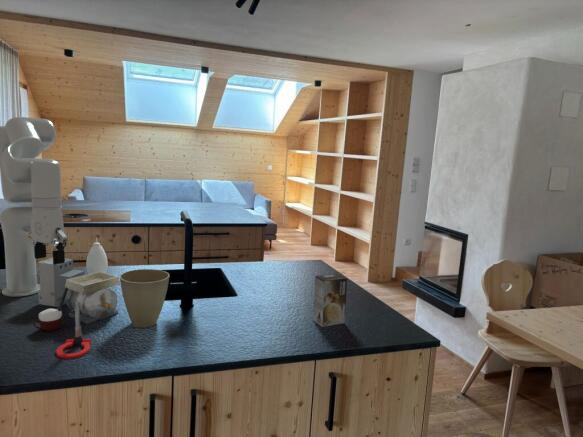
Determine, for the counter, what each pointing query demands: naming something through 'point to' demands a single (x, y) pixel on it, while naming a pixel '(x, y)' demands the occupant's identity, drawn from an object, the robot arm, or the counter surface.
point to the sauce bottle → (96, 259)
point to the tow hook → (75, 340)
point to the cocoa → (51, 317)
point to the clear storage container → (92, 296)
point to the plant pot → (144, 295)
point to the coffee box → (330, 299)
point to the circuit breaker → (54, 280)
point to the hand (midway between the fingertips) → (49, 260)
